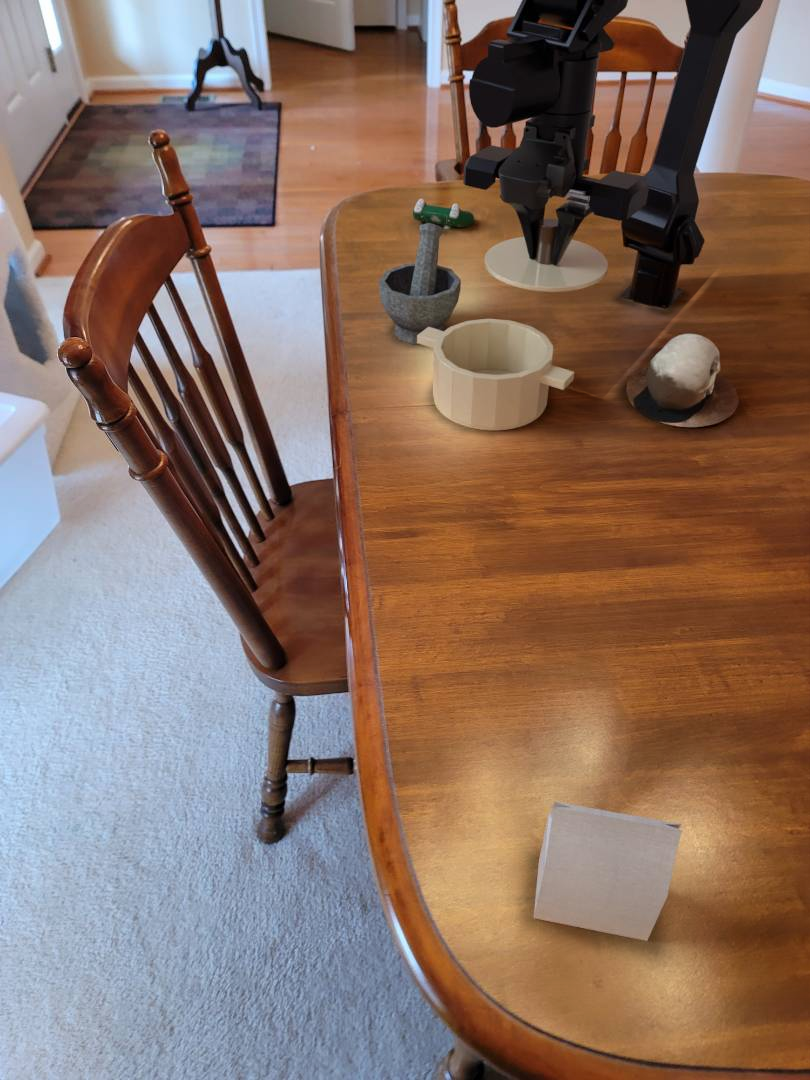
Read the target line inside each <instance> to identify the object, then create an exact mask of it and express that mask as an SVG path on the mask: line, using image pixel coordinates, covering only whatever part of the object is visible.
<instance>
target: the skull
mask: <svg viewBox="0 0 810 1080" xmlns="http://www.w3.org/2000/svg"><path fill="white" fill-rule="evenodd" d="M720 358H721V354H720V351H719V349H718V347H717V346H716V344H715V343H714V342H713V341H712V340H710V339H709V338H707V337H705V336H704V335H701V334H698V333H683V334H678V335H677V336H674V337H673V338H671V339H670V340H669V341H668V342H667V343H666V344H665V345H664V346H663V347H662V349H661V350H659V351H658V352H657V353H656V354H655V355H654V357H652V359H651V360H650V363H649V366H648V367H644V368H641V369H640V370H638V371H637V372H635V373H634V374H633V375H631V377H629V379H628V381H627V383H626V387H625V392H626V397H627V399H628V401H629V402H630V404H631V406H633V407H634V409H635V410H636V411H637V412H639V413H640V414H641V415H642V416H645V417H646V418H648V419H651V420H653V421H655V422H657V423H662V424H665V425H669V426H675V427H681V428H683V427H684V428H699V427H700V428H701V427H707V426H712V425H716V424H718V423H721V422H722V421H725V420H726V419H728V418H730V417H731V416H732V415H733V414H734V413H735V412H736V410H737V408H738V406H739V401H740V398H739V394H738V391H737V389H736V388H735V386H734V385H733V383H732V382H731V381H729V379H727V378H726V377H725V376H723V375H722V374H719V373H720V371H721V361H720V360H721V359H720Z"/></svg>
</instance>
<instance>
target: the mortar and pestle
mask: <svg viewBox="0 0 810 1080" xmlns="http://www.w3.org/2000/svg"><path fill="white" fill-rule="evenodd" d="M418 231H419V234H420V237H419V243H418V247H417V253H416V257H415V258H416V259H415V262H414V263H404V264H401V265H399V266H394V267H392V268H390V269H387V270H385V272H384V273H383V274H382V275H381V278H380V279H379V280H378V292H379V298H380V303H381V306H382V307H383V309H384V311H385V312H386V314H387V315H388V317H389V318H390V319H391V321H392V322H393V323H394V324H395V326H394V334H395V335H396V337H397V338H398V340H399V341H402V342H404V343H408V344H411V345H419V344H418V343H417V335H418V334H420V333H421V332H422V331H423V330H425V329H426V328H427V327H431V328H435V329H438V330H441V331H445V324H446V323H447V322H448V321H449V319H450V317H451V316H452V314H453V312H454V310H455V308H456V306H457V305H458V303H459V299H460V294H461V288H462V287H461V286H462V285H461V284H462V280H461V278H460V277H459V275H458V274H456V272H455V271H454V270H453V269H452V268H449V267H446V266H441V265H438V262H439V261H438V260H439V249H440V237H442V235H443V228H442V227H441V226H440V225H439V224H435V225H434V224H425V223H423V224H420V225H419V229H418Z"/></svg>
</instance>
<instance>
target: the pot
mask: <svg viewBox="0 0 810 1080" xmlns="http://www.w3.org/2000/svg"><path fill="white" fill-rule="evenodd" d="M417 343H418V344H417V345H422V346H424V347H428V348H431V349H433V357H432V358H433V362H432V363H433V367H432V369H433V370H432V397H433V402H434V405H435V407H436V409H437V410H438V411H439V413H440V414H441V415H442V416H444V417H445V418H446V419H448V420H450V421H452V422H454V423H456V424H457V425H460V426H463V427H466V428H469V429H470V428H471V429H475V430H480V431H507V430H512V429H516V428H521V427H523V426H526V425H529V424H530V423H532V422H534V421H536V420H537V419H538V418H539V417H540V416H541V415H542V414H543V413H544V412H545V410H546V407H547V404H548V395H549V388H550V387H552V388H554V389H555V388H556V389H559V390H562V391H565V389H566V388H567V387H568V386H569V385H570V384H571V383H572V382H573V381H574V378H575V371H573V370H570V369H565V368H563V367H560V366H556V365H553V355H554V348H555V347H554V345H553V343H552V342H551V341H550V339H549V337H548V336H547V335H546V334H545V333H543V332H542V331H540V330H538V329H537V328H535V327H534V326H531V325H528V324H525V323H521V322H518V321H514V320H511V319H498V318H482V319H471V320H465V321H462V322H460V323H457V324H454V325H451V326H449V327H448V328H446V329H444V330H443V331H441V330H438V329H435V328H431V327H427V328H426V329H425V330H423V331H422V332H421V333H420V334H418V335H417Z"/></svg>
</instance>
